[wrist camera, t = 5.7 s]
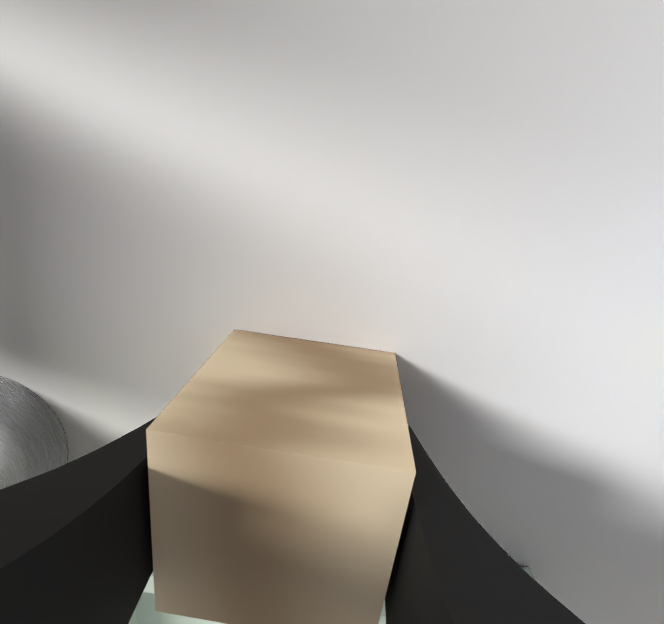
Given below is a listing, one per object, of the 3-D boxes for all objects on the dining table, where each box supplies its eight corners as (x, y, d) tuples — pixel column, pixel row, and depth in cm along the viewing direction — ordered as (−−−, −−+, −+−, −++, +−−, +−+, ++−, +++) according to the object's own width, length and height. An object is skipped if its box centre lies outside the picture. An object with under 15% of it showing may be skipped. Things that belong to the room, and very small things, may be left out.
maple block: (395, 353, 12) (415, 472, 7) (369, 482, 13) (371, 648, 8) (234, 329, 12) (145, 429, 7) (229, 459, 13) (155, 611, 9)
